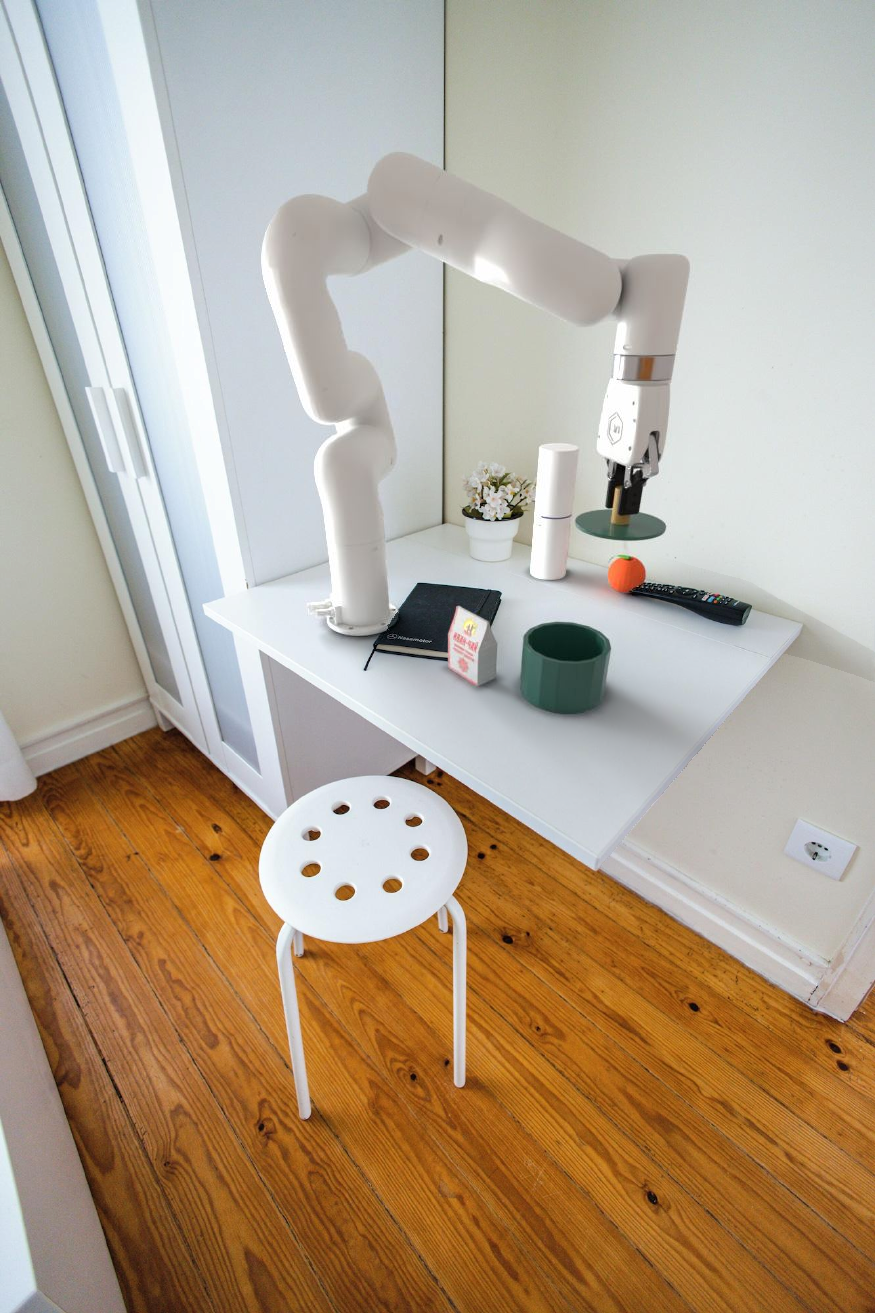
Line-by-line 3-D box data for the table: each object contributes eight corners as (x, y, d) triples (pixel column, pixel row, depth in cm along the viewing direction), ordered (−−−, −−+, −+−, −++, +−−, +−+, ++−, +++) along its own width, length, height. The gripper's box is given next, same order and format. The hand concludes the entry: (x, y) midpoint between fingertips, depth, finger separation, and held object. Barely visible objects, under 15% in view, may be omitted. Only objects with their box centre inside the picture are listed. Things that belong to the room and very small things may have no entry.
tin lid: (600, 549, 81) (606, 504, 78) (559, 520, 92) (563, 480, 89) (683, 539, 84) (692, 496, 81) (634, 512, 94) (640, 473, 91)
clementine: (593, 588, 117) (598, 553, 113) (616, 579, 120) (621, 545, 117) (627, 602, 111) (633, 566, 107) (650, 592, 115) (656, 557, 111)
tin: (539, 720, 80) (544, 669, 76) (508, 674, 90) (510, 627, 86) (618, 705, 83) (627, 656, 79) (579, 663, 93) (585, 617, 89)
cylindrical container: (555, 582, 119) (568, 453, 106) (524, 574, 123) (532, 448, 110) (571, 571, 124) (585, 446, 111) (540, 563, 128) (551, 441, 115)
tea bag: (466, 659, 94) (467, 602, 89) (495, 677, 90) (498, 618, 84) (448, 667, 92) (448, 609, 87) (477, 686, 88) (478, 626, 82)
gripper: (586, 365, 83) (572, 497, 92) (651, 377, 69) (627, 531, 79) (634, 363, 84) (616, 493, 94) (707, 375, 71) (677, 525, 80)
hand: (621, 509), depth 86 cm, fingers closed on tin lid, 2 cm apart
